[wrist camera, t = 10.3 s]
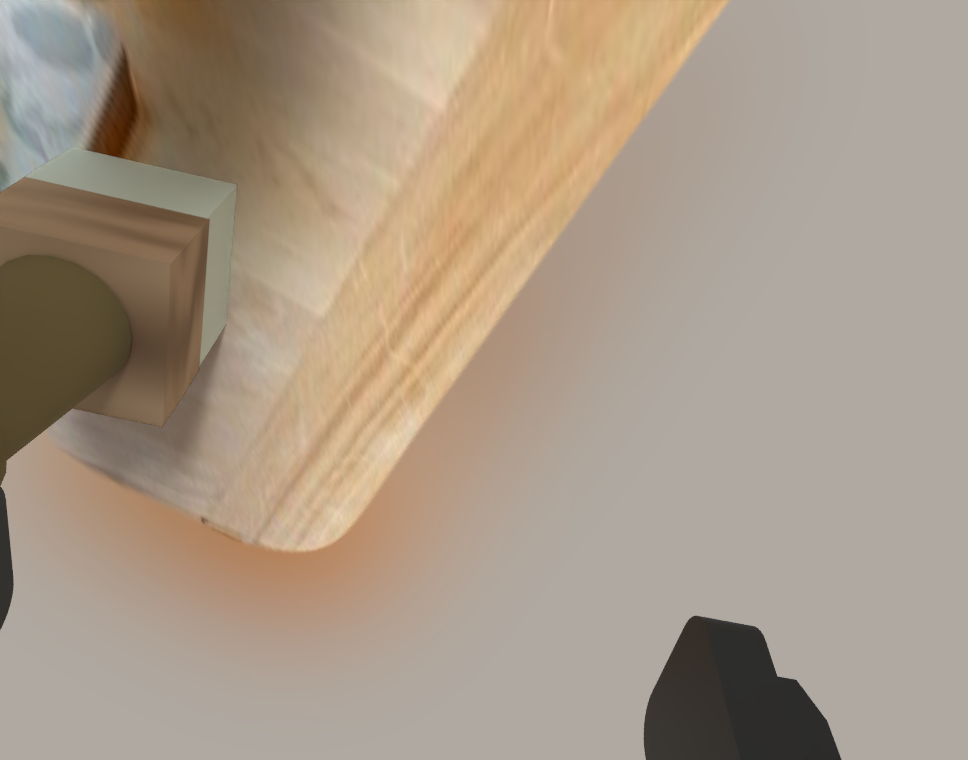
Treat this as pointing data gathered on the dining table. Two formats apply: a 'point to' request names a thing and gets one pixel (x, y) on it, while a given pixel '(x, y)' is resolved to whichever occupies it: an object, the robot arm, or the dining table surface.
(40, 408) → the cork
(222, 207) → the tower base block
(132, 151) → the dining table surface
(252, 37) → the dining table surface
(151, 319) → the tower top block
